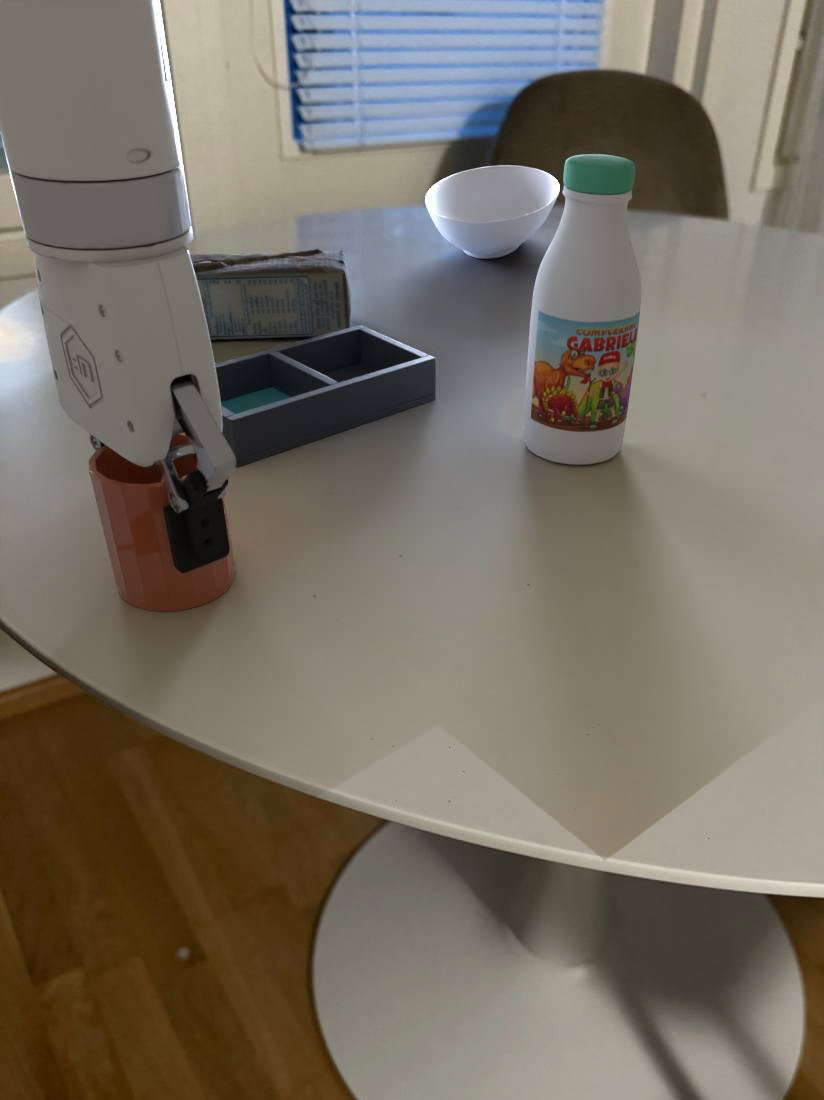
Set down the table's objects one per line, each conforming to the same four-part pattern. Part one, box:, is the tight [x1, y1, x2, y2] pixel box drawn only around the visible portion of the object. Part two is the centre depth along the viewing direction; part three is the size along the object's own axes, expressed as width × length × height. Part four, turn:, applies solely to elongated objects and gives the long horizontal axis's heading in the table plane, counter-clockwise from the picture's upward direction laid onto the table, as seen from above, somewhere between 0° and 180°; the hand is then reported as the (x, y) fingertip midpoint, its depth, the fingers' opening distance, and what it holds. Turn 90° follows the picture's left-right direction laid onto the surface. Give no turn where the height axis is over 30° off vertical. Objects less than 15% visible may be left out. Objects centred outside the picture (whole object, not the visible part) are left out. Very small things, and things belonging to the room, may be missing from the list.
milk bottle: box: [522, 153, 642, 466], centre depth 67 cm, size 8×8×20 cm
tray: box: [215, 324, 437, 467], centre depth 76 cm, size 10×19×4 cm, turn 133°
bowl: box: [424, 164, 560, 260], centre depth 116 cm, size 30×15×6 cm, turn 167°
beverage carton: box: [190, 248, 353, 341], centre depth 90 cm, size 8×19×7 cm, turn 98°
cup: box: [87, 432, 236, 612], centre depth 55 cm, size 7×7×8 cm
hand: (168, 533), depth 55 cm, fingers closed on cup, 6 cm apart
